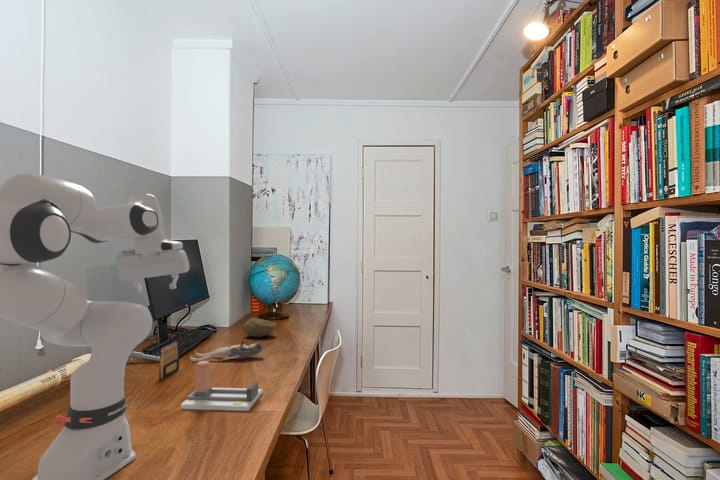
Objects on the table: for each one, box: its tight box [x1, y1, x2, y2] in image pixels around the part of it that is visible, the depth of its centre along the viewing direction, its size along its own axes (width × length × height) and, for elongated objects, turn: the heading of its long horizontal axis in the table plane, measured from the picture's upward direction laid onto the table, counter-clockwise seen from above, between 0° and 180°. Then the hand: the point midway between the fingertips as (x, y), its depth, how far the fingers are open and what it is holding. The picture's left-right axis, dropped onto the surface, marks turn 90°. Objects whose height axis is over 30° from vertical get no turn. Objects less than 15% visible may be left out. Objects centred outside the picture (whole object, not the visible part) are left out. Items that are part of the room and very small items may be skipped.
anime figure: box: [189, 340, 263, 363], centre depth 176 cm, size 10×7×30 cm
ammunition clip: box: [158, 341, 180, 380], centre depth 156 cm, size 11×2×12 cm, turn 174°
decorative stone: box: [242, 317, 275, 338], centre depth 214 cm, size 17×11×10 cm, turn 83°
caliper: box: [126, 350, 161, 364], centre depth 171 cm, size 20×1×6 cm, turn 93°
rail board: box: [180, 380, 263, 412], centre depth 131 cm, size 14×22×6 cm, turn 86°
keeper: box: [194, 360, 213, 396], centre depth 131 cm, size 4×4×11 cm
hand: (157, 291), depth 121 cm, fingers open, 8 cm apart
